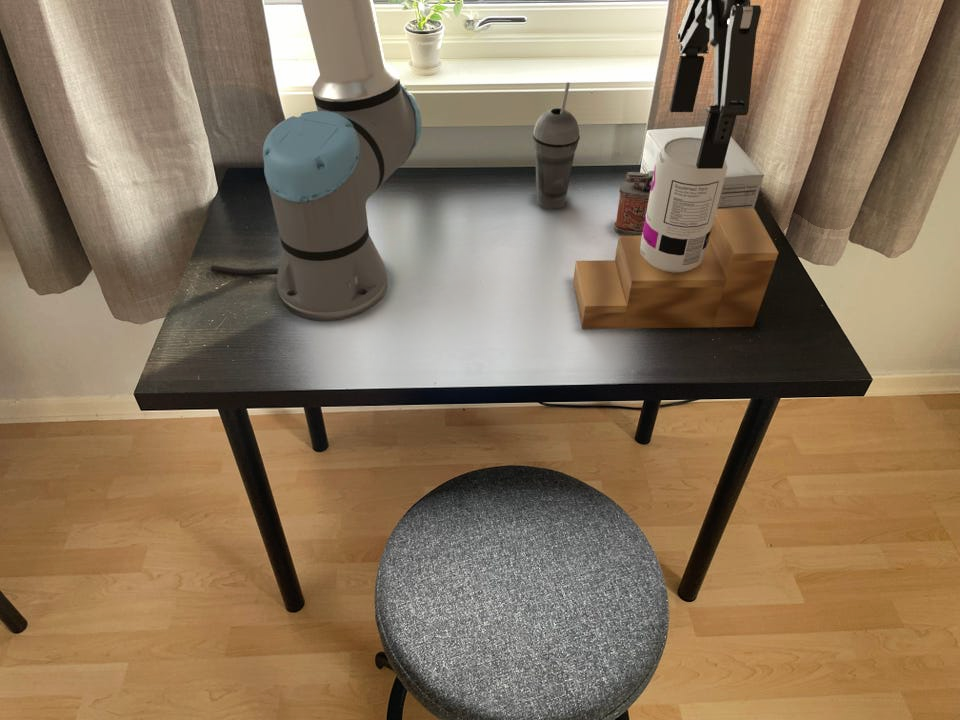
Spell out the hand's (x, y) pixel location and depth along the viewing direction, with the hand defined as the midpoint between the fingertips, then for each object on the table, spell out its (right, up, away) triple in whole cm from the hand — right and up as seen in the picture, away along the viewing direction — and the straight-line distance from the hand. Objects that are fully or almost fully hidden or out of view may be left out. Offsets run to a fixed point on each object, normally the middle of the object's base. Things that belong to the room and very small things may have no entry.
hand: (694, 137), depth 85 cm
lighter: (0, -6, +30) cm, 31 cm away
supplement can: (0, -12, +12) cm, 17 cm away
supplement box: (+10, 0, +36) cm, 37 cm away
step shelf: (0, -18, +17) cm, 25 cm away
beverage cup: (-13, 0, +36) cm, 39 cm away
